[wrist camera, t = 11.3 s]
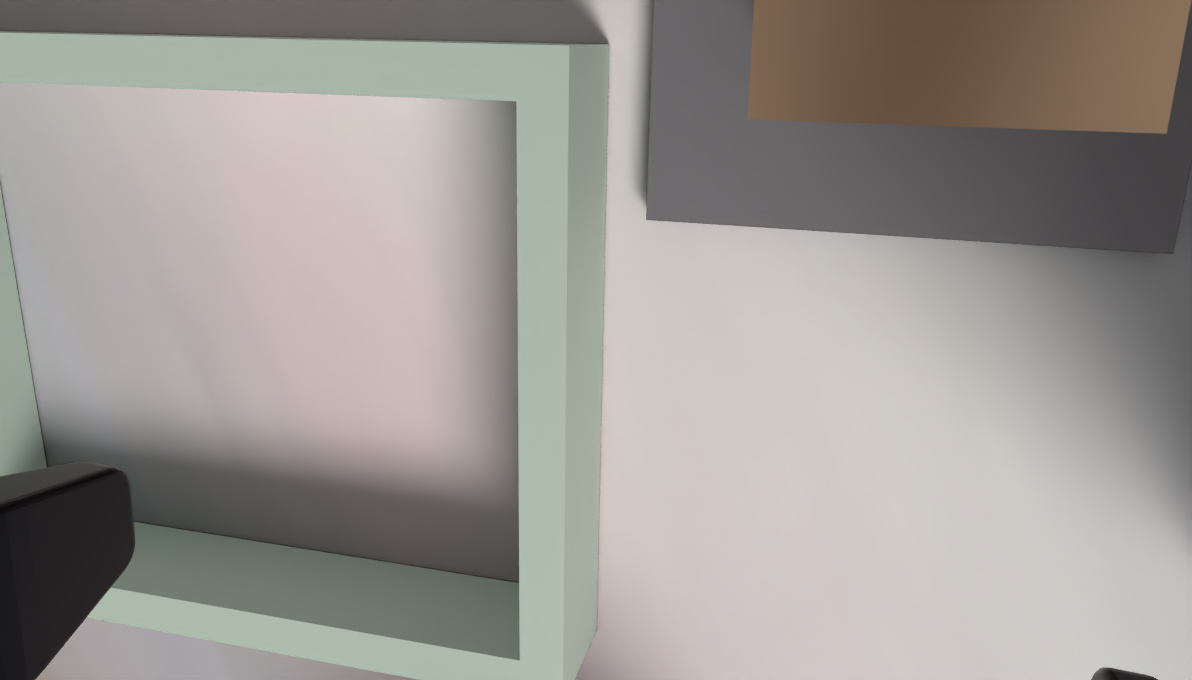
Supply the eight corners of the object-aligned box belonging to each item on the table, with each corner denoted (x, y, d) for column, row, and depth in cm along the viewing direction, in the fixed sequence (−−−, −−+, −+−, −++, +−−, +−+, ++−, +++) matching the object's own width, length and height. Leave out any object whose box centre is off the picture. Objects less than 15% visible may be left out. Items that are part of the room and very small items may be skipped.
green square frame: (609, 44, 20) (569, 45, 17) (596, 630, 24) (562, 707, 22) (-59, 29, 24) (-179, 28, 21) (29, 535, 28) (-61, 589, 25)
